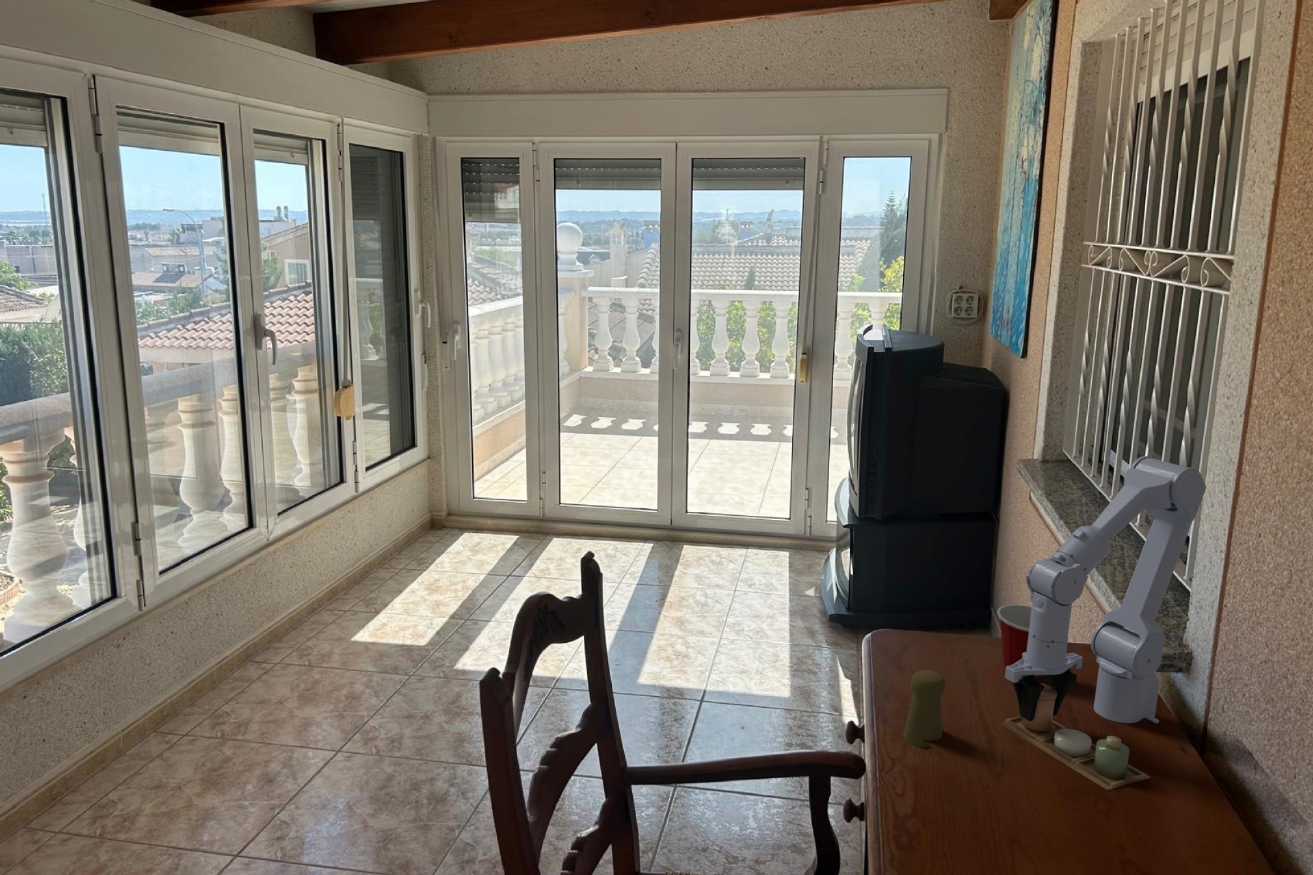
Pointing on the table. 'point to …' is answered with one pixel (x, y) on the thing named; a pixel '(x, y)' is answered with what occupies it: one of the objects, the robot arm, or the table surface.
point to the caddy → (1081, 764)
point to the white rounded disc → (1072, 742)
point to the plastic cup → (1014, 632)
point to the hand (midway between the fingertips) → (1038, 715)
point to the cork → (925, 709)
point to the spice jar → (1043, 710)
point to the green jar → (1111, 758)
